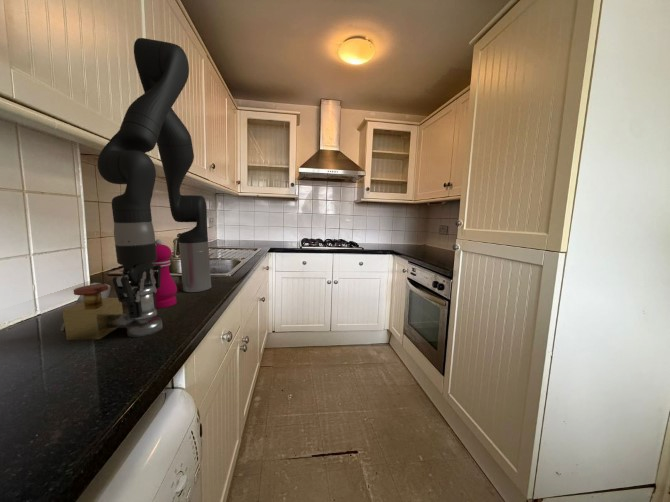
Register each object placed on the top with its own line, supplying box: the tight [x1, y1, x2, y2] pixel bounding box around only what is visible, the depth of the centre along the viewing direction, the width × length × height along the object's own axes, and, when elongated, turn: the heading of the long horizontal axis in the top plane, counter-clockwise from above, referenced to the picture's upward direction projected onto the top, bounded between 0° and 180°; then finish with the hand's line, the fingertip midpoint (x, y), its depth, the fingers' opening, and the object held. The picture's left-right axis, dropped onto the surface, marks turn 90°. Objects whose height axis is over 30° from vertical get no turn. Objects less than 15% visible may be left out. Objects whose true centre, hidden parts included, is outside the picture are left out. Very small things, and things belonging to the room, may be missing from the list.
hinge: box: [60, 282, 112, 332], centre depth 74 cm, size 17×5×10 cm, turn 27°
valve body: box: [61, 283, 163, 341], centre depth 65 cm, size 8×18×11 cm, turn 94°
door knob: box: [131, 285, 158, 321], centre depth 65 cm, size 5×5×7 cm
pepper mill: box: [152, 238, 178, 309], centre depth 82 cm, size 7×7×20 cm
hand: (143, 312), depth 65 cm, fingers closed on door knob, 5 cm apart
